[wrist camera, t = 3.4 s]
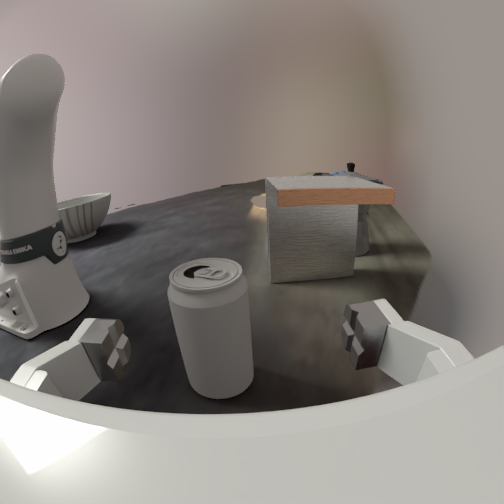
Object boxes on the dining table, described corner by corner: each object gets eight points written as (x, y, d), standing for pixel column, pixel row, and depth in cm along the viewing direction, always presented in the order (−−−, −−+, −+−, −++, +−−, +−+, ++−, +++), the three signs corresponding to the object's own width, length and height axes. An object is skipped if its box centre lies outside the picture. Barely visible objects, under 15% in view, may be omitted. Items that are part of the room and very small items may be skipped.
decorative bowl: (84, 251, 65) (75, 207, 61) (30, 252, 68) (22, 216, 64) (130, 223, 90) (125, 189, 85) (76, 227, 93) (71, 197, 88)
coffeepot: (377, 244, 58) (382, 163, 51) (378, 260, 50) (385, 166, 43) (312, 238, 64) (311, 160, 57) (303, 252, 56) (302, 162, 49)
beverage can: (212, 352, 29) (196, 251, 25) (265, 368, 27) (261, 260, 22) (177, 388, 24) (146, 280, 20) (234, 413, 21) (217, 298, 17)
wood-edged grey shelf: (280, 322, 34) (278, 190, 28) (268, 275, 47) (265, 177, 41) (380, 309, 34) (395, 189, 29) (346, 268, 47) (351, 175, 42)
